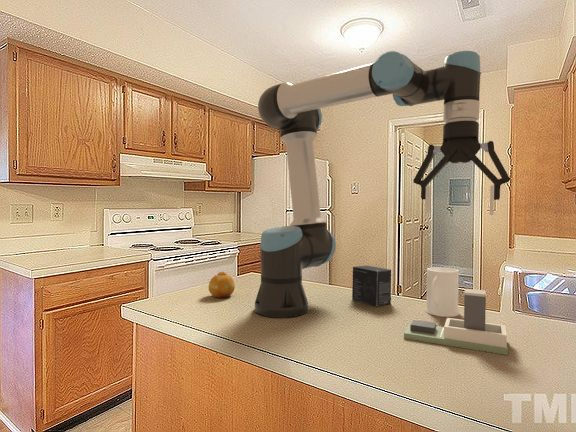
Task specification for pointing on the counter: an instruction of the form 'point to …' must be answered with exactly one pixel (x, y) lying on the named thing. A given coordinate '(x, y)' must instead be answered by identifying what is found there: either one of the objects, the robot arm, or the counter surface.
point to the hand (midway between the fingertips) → (458, 214)
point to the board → (436, 335)
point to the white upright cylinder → (442, 291)
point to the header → (476, 333)
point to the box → (371, 285)
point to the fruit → (221, 285)
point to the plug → (474, 309)
